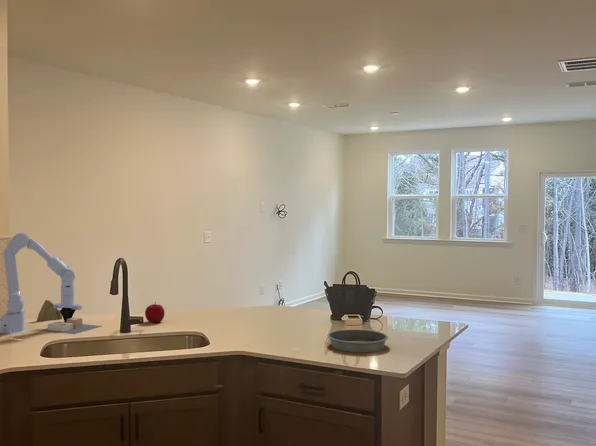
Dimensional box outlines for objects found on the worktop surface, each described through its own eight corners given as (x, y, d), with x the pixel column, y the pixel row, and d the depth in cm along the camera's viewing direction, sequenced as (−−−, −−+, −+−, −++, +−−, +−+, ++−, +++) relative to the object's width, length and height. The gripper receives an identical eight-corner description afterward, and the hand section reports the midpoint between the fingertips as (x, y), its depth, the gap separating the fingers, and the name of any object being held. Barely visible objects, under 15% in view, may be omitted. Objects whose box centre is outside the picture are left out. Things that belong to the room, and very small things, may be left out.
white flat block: (63, 331, 248) (63, 325, 248) (47, 329, 251) (47, 323, 251) (73, 328, 253) (73, 322, 253) (57, 327, 256) (57, 321, 256)
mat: (74, 335, 243) (74, 334, 243) (39, 331, 250) (39, 330, 250) (102, 327, 260) (102, 326, 260) (68, 323, 267) (68, 322, 267)
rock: (68, 314, 279) (52, 310, 283) (62, 302, 274) (46, 298, 277) (54, 330, 272) (38, 326, 275) (47, 318, 266) (31, 314, 270)
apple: (167, 320, 277) (167, 300, 277) (160, 324, 268) (160, 303, 268) (149, 319, 278) (149, 299, 278) (142, 323, 269) (142, 302, 269)
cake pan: (399, 345, 229) (399, 334, 229) (365, 357, 211) (365, 345, 211) (351, 336, 246) (351, 326, 245) (315, 346, 227) (315, 335, 227)
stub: (75, 328, 253) (75, 320, 253) (66, 327, 255) (66, 319, 255) (82, 326, 258) (82, 318, 258) (73, 326, 259) (73, 317, 259)
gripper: (86, 294, 259) (86, 324, 259) (61, 292, 264) (61, 321, 264) (75, 296, 252) (75, 327, 252) (50, 295, 257) (50, 324, 258)
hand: (67, 324), depth 258 cm, fingers closed
